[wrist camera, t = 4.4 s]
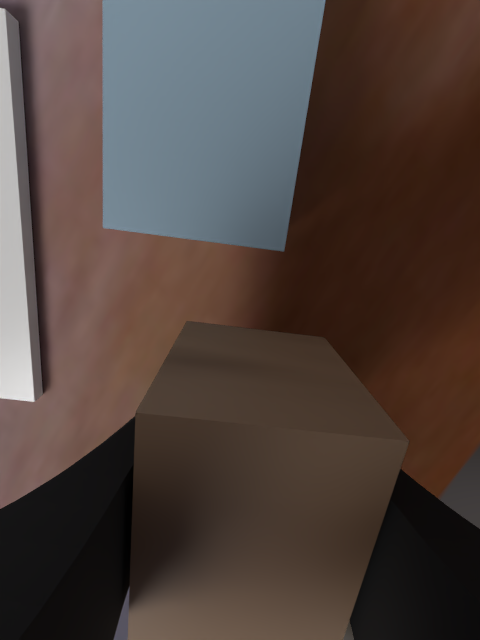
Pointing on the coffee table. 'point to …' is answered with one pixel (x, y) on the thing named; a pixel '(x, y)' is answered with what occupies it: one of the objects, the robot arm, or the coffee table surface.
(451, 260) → the coffee table surface
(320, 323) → the coffee table surface
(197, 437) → the walnut brick
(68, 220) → the coffee table surface
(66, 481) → the robot arm
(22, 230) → the baseplate
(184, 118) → the slate-blue brick
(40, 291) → the coffee table surface
